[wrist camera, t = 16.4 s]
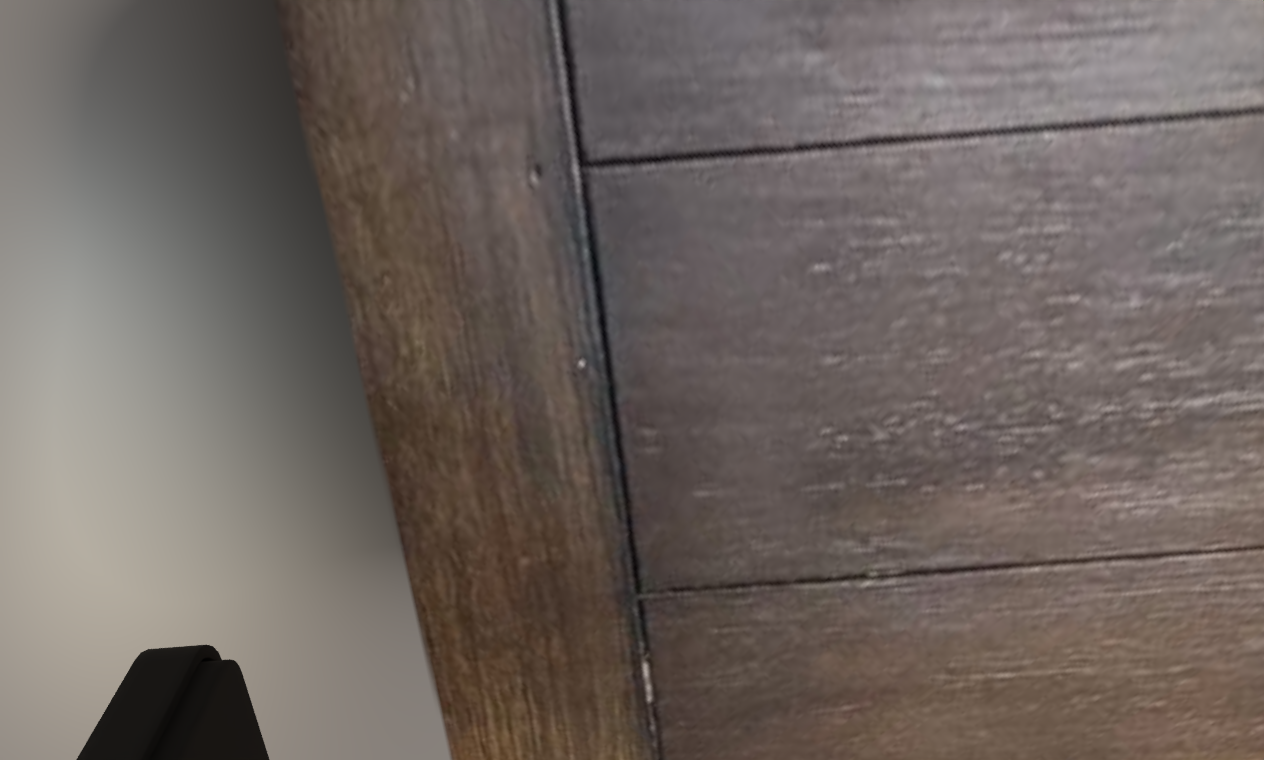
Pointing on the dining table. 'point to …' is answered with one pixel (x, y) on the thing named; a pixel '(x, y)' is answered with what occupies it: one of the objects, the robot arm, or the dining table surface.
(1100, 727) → the dining table surface
